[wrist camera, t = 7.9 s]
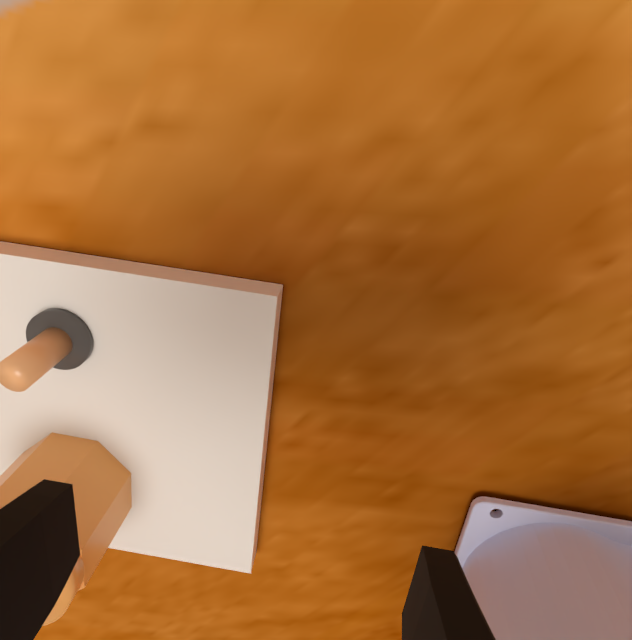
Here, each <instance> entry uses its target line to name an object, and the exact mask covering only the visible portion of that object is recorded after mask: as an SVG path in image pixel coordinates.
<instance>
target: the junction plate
mask: <svg viewBox="0 0 632 640" xmlns="http://www.w3.org/2000/svg"><path fill="white" fill-rule="evenodd" d="M282 292H283V284H276V283H270V282H263V281H257V280H250V279H244V278H237V277H231V276H224V275H218V274H211V273H205V272H198V271H192V270H185V269H178V268H172V267H165V266H159V265H152V264H146V263H139V262H133V261H126V260H120V259H113V258H107V257H100V256H94V255H87V254H81V253H74V252H68V251H61V250H55V249H48V248H42V247H35V246H29V245H22V244H16V243H9V242H3V241H0V476H1V475H2V474H3V473H4V472H5V471H6V470H7V469H8V468H9V467H10V466H11V465H12V463H13V462H14V461H15V460H16V459H17V458H18V457H19V456H20V455H21V454H22V453H23V452H25V451H26V450H28V449H29V448H31V447H32V446H33V445H35V444H36V443H38V442H39V441H40V440H42V439H43V438H45V437H46V436H48V435H49V434H50V433H52V432H53V433H58V434H63V435H69V436H74V437H79V438H85V439H90V440H95V441H98V442H100V443H101V444H102V445H103V446H104V447H105V448H106V449H107V450H108V451H109V452H110V453H111V454H112V455H113V456H114V457H115V458H116V459H117V460H118V461H119V462H120V463H121V464H122V465H123V466H124V467H125V468H126V469H127V470H129V471H130V472H131V495H132V508H131V509H130V511H129V513H128V515H127V516H126V518H125V520H124V521H123V523H122V525H121V526H120V528H119V530H118V532H117V533H116V535H115V537H114V538H113V540H112V542H111V543H110V545H109V547H108V548H113V549H118V550H124V551H129V552H135V553H140V554H146V555H151V556H157V557H162V558H168V559H173V560H179V561H184V562H190V563H196V564H201V565H207V566H212V567H218V568H223V569H229V570H234V571H240V572H245V573H251V571H252V567H253V563H254V559H255V555H256V551H257V541H258V531H259V521H260V511H261V501H262V491H263V481H264V471H265V461H266V451H267V441H268V431H269V421H270V411H271V401H272V391H273V381H274V371H275V361H276V351H277V342H278V332H279V322H280V312H281V302H282Z"/></svg>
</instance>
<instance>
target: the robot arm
mask: <svg viewBox="0 0 632 640" xmlns="http://www.w3.org/2000/svg"><path fill="white" fill-rule="evenodd" d="M493 509H499V510H497V511H491V510H493ZM79 556H80V548H79V539H78V530H77V521H76V512H75V502H74V493H73V484H68V483H63V482H57V481H51V480H46V479H44V480H42V481H41V482H39V483H38V484H36V485H35V486H33V487H32V488H30V489H29V490H27V491H26V492H24V493H23V494H21V495H20V496H18V497H17V498H16V499H14V500H13V501H11V502H10V503H8V504H7V505H5V506H4V507H2V508H1V509H0V640H33V639H34V638H35V636H36V634H37V633H38V631H39V630H40V628H41V627H42V625H43V624H44V622H45V620H46V619H47V617H48V616H49V614H50V612H51V611H52V609H53V608H54V606H55V604H56V602H57V600H58V598H59V596H60V594H61V592H62V591H63V589H64V587H65V585H66V583H67V581H68V579H69V577H70V575H71V573H72V571H73V568H74V566H75V564H76V562H77V560H78V558H79ZM402 640H632V521H627V520H621V519H615V518H609V517H603V516H597V515H591V514H585V513H580V512H574V511H568V510H562V509H556V508H550V507H544V506H538V505H533V504H527V503H521V502H515V501H509V500H503V499H497V498H491V497H484V496H481V497H477V498H475V499H474V500H473V501H472V503H471V505H470V508H469V511H468V514H467V517H466V520H465V523H464V526H463V529H462V532H461V535H460V537H459V540H458V543H457V546H456V549H455V552H453V551H450V550H444V549H438V548H432V547H427V546H422V548H421V552H420V555H419V558H418V562H417V565H416V569H415V572H414V575H413V579H412V582H411V585H410V589H409V592H408V595H407V599H406V602H405V606H404V609H403V612H402Z"/></svg>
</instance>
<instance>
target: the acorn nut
mask: <svg viewBox="0 0 632 640" xmlns="http://www.w3.org/2000/svg"><path fill="white" fill-rule="evenodd" d="M44 479H46V480H51V481H57V482H63V483H68V484H73V493H74V502H75V512H76V521H77V530H78V539H79V548H80V556H79V558H78V560H77V562H76V564H75V566H74V568H73V571H72V573H71V575H70V577H69V579H68V581H67V583H66V585H65V587H64V589H63V591H62V592H61V594H60V596H59V598H58V600H57V602H56V604H55V606H54V608H53V609H52V611H51V612H50V614H49V616H48V617H47V619H46V620H45V622H44V624H43V625H42V626H44V625H48V624H50V623H53V622H55V621H56V620H58V619H59V618H60V617H61V616H62V615H63V614H64V613H65V611H66V610H67V608H68V607H69V605H70V603H71V601H72V600H73V598H74V596H75V595H76V593H77V591H79V590H81V589H83V588H85V586H86V584H87V583H88V581H89V579H90V577H91V576H92V574H93V572H94V571H95V569H96V567H97V566H98V564H99V562H100V560H101V559H102V557H103V555H104V554H105V552H106V550H107V549H108V547H109V545H110V543H111V542H112V540H113V538H114V537H115V535H116V533H117V532H118V530H119V528H120V526H121V525H122V523H123V521H124V520H125V518H126V516H127V515H128V513H129V511H130V509H131V508H132V495H131V472H130V471H129V470H127V469H126V468H125V467H124V466H123V465H122V464H121V463H120V462H119V461H118V460H117V459H116V458H115V457H114V456H113V455H112V454H111V453H110V452H109V451H108V450H107V449H106V448H105V447H104V446H103V445H102V444H101V443H100V442H98V441H95V440H90V439H85V438H79V437H74V436H69V435H63V434H58V433H53V432H52V433H50V434H49V435H48V436H46V437H45V438H43V439H42V440H40V441H39V442H38V443H36V444H35V445H33V446H32V447H31V448H29V449H28V450H26V451H25V452H23V453H22V454H21V455H20V456H19V457H18V458H17V459H16V460H15V461H14V462H13V463H12V465H11V466H10V467H9V468H8V469H7V470H6V471H5V472H4V473H3V474H2V475H1V476H0V509H1V508H2V507H4V506H5V505H7V504H8V503H10V502H11V501H13V500H14V499H16V498H17V497H18V496H20V495H21V494H23V493H24V492H26V491H27V490H29V489H30V488H32V487H33V486H35V485H36V484H38V483H39V482H41V481H42V480H44Z"/></svg>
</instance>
